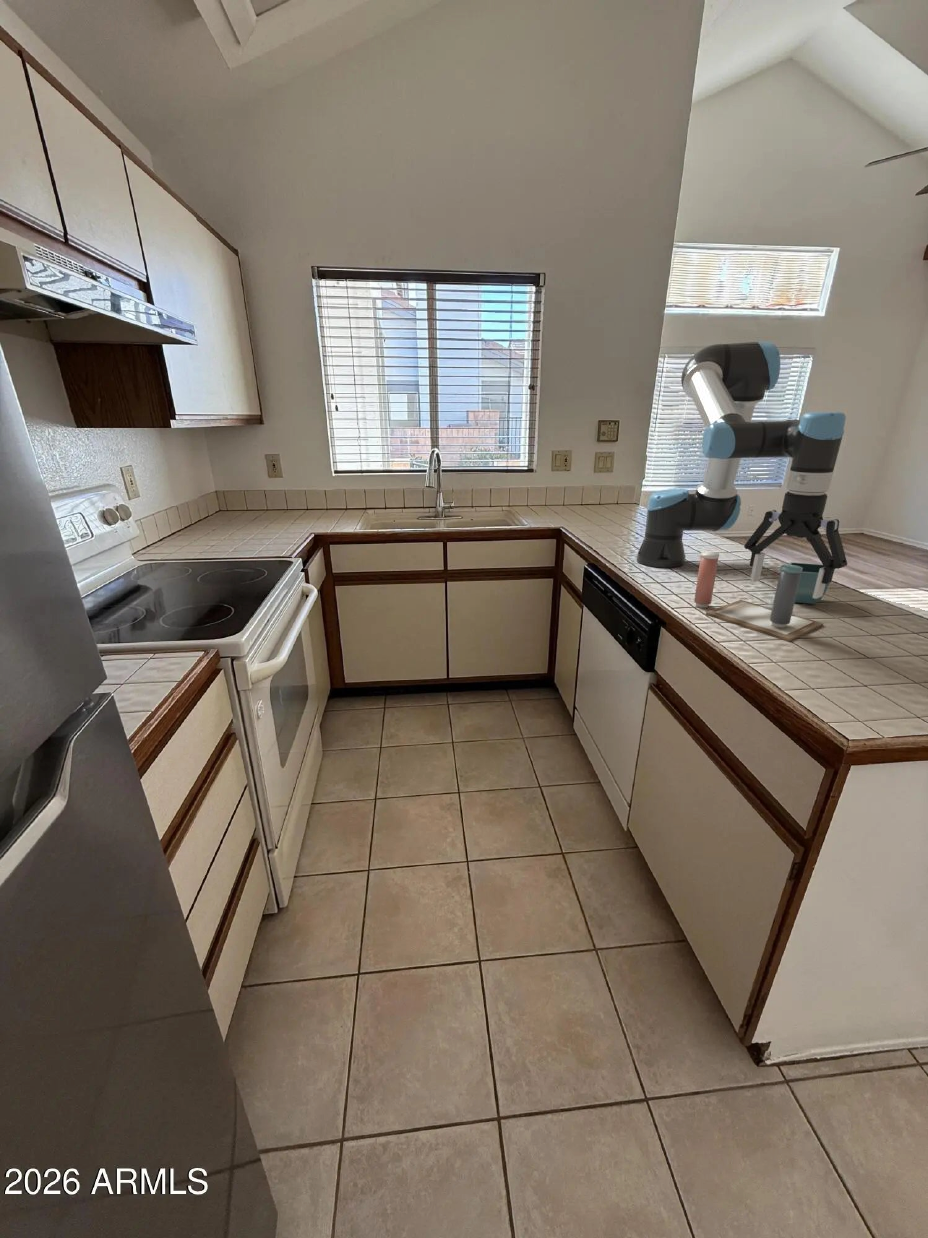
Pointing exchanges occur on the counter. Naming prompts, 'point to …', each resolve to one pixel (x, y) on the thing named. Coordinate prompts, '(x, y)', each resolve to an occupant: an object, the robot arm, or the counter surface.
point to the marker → (785, 595)
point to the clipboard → (763, 620)
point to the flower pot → (808, 583)
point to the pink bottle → (706, 579)
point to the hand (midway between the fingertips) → (784, 588)
